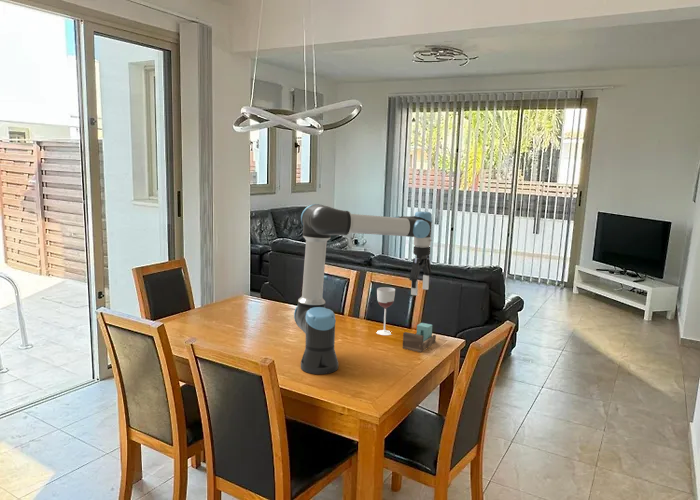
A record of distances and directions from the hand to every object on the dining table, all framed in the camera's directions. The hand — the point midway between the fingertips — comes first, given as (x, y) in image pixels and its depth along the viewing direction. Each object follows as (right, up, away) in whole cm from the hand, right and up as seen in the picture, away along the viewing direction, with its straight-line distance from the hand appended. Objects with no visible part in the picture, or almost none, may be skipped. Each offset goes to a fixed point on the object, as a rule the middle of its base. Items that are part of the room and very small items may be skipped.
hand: (419, 292), depth 233 cm
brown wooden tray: (0, -25, +3) cm, 25 cm away
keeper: (+3, -23, +7) cm, 24 cm away
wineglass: (-15, -22, +20) cm, 33 cm away
